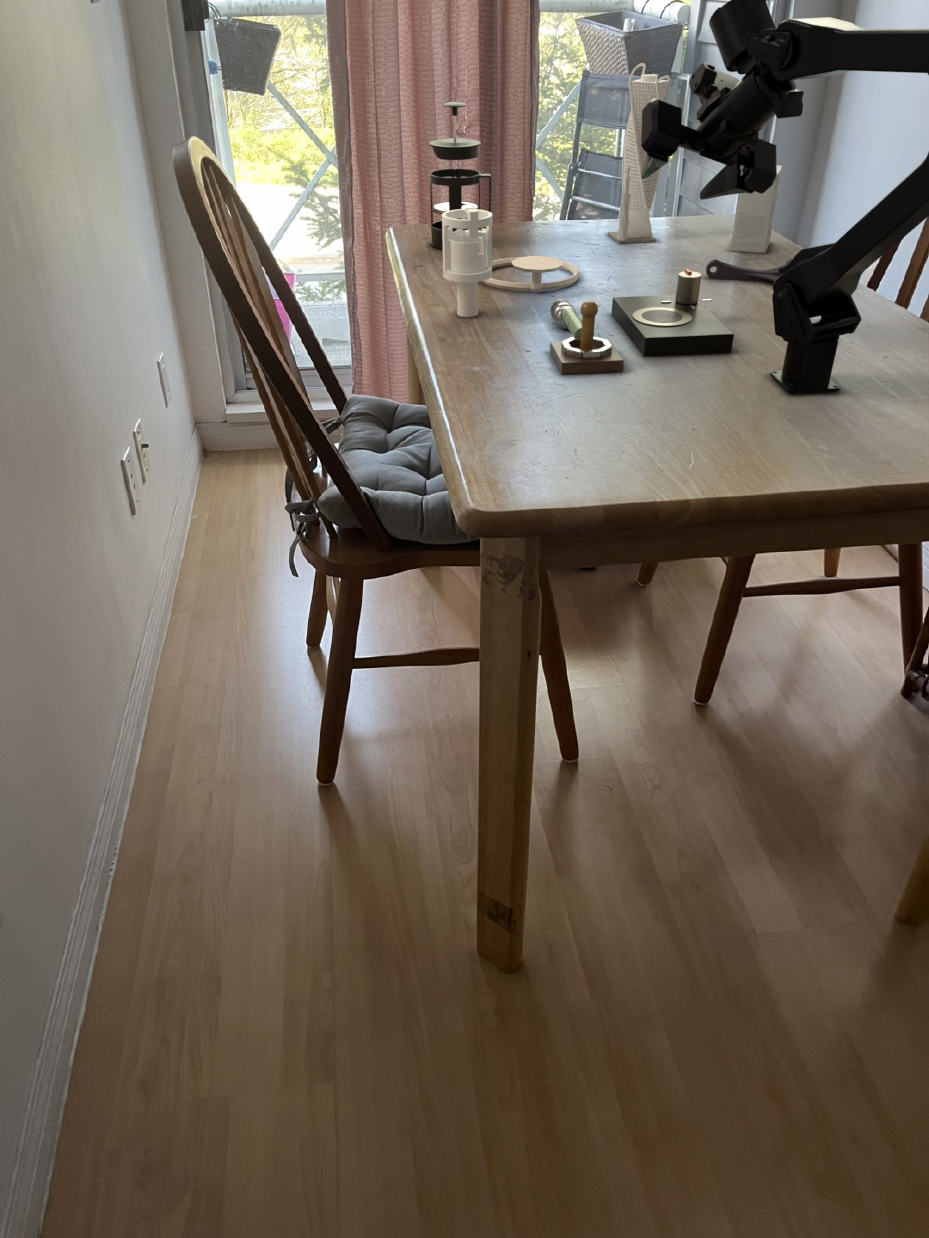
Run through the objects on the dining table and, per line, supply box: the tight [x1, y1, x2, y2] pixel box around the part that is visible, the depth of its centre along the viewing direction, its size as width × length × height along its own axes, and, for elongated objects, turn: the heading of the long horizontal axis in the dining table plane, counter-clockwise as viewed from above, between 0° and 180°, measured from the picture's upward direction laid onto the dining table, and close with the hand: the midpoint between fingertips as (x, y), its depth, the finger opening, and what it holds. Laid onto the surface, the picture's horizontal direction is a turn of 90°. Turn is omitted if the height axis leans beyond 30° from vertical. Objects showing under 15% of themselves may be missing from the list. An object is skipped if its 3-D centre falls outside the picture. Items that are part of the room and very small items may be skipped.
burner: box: [633, 307, 692, 327], centre depth 130 cm, size 8×8×1 cm
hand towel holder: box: [481, 255, 581, 294], centre depth 153 cm, size 17×4×20 cm
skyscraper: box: [607, 62, 671, 244], centre depth 169 cm, size 8×8×28 cm
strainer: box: [441, 207, 493, 318], centre depth 136 cm, size 7×7×15 cm
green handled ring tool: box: [549, 298, 612, 359], centre depth 128 cm, size 21×6×4 cm, turn 6°
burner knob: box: [675, 268, 702, 305], centre depth 135 cm, size 3×3×4 cm
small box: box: [730, 164, 783, 254], centre depth 167 cm, size 8×6×13 cm
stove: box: [611, 294, 735, 357], centre depth 132 cm, size 18×14×3 cm
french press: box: [428, 101, 492, 251], centre depth 167 cm, size 12×9×23 cm
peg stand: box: [549, 299, 625, 375], centre depth 121 cm, size 8×8×8 cm
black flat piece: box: [705, 258, 793, 282], centre depth 153 cm, size 14×15×3 cm
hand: (671, 186), depth 126 cm, fingers open, 9 cm apart
